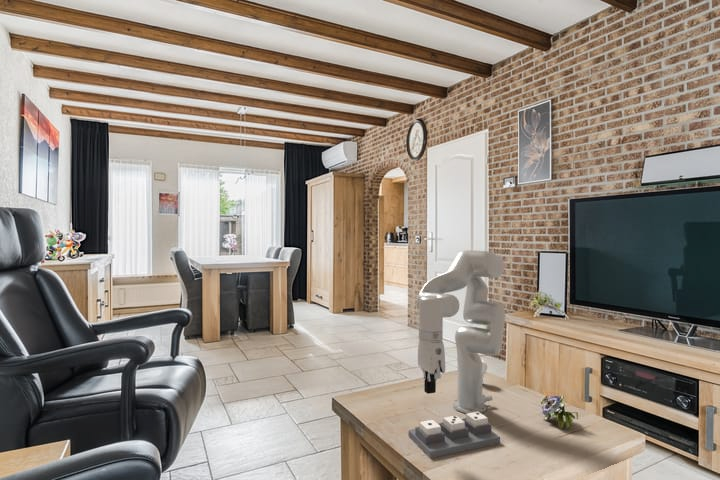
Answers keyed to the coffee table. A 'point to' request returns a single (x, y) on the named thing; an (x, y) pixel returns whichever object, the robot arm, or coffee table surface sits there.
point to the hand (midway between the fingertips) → (430, 392)
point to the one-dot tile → (429, 427)
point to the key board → (454, 439)
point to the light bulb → (484, 368)
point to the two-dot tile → (476, 419)
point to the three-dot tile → (453, 423)
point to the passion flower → (557, 410)
